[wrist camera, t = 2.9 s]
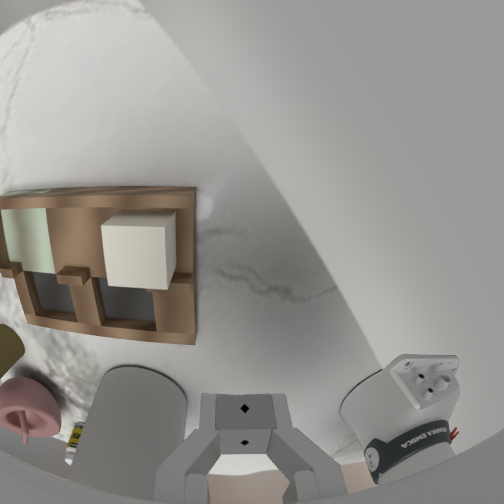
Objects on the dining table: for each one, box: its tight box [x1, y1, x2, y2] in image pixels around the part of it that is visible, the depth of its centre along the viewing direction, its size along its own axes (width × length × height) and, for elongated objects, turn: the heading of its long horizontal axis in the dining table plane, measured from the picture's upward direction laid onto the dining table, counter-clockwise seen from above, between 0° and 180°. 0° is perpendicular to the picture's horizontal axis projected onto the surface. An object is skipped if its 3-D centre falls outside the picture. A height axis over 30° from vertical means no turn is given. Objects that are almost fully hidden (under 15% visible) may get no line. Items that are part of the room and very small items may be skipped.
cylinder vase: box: [67, 367, 187, 501], centre depth 24 cm, size 12×12×25 cm
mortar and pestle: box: [0, 377, 61, 444], centre depth 29 cm, size 12×12×11 cm
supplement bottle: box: [65, 423, 84, 465], centre depth 35 cm, size 5×5×8 cm
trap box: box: [0, 186, 197, 345], centre depth 25 cm, size 23×16×4 cm
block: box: [101, 210, 176, 290], centre depth 23 cm, size 5×5×4 cm
